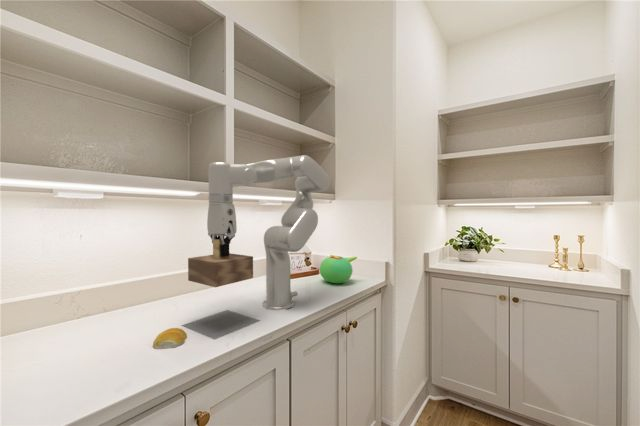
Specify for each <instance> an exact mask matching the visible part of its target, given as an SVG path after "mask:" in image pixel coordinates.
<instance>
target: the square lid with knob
mask: <svg viewBox="0 0 640 426" xmlns="http://www.w3.org/2000/svg"><path fill="white" fill-rule="evenodd" d="M220 244H221V239H213V243H212V254H208V255H201V256H194V257H189V258H187V280H188V281H189V282H192V283H197V284H201V285H205V286H209V287H214V288H219V287H222V286H226V285H230V284H235V283H239V282H242V281H246V280H251V279H253V278H254V256H252V255H245V254H236V253H230V252H229V256H224V257H221V256H220Z"/></svg>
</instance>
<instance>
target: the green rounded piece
mask: <svg viewBox="0 0 640 426" xmlns="http://www.w3.org/2000/svg"><path fill="white" fill-rule="evenodd" d="M329 255H330V256H328V257H326V258H324V259H323V260H322V261H321V263H320V264H319V273H320V275H321V277H322V278H323V279H324V280H325V281H326V282H328V283H332V284H343V283H346V282H347V281H348V280H349V279H351V277H352V275H353V266H352V264H351V262H353V261H355V260H356V259H358V256H351V257H343V256H338V255H333V254H329Z"/></svg>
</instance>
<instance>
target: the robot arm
mask: <svg viewBox="0 0 640 426" xmlns="http://www.w3.org/2000/svg"><path fill="white" fill-rule="evenodd" d="M295 178H296V179H295ZM289 179H295V182H294V183H295V184H294V187H295V195H296V196H295V199H294V201H293V202H292V203H291V205H290V206H289V207H288V208H287V209H286V210H285V212H284V213H283V215H282V216H281V221H280V222H281V225H274V226H270V227H269V228H267V229H266V231H264V235H263V244H264V245H263V246H264V251H265V257H266V258H265V259H266V260H265V262H266V263H265V264H266V267H265V268H266V273H265V274H266V276H265V278H266V280H265V281H266V283H265V284H266V285H265V287H266V292H265V293H266V299H265V300H264V301H263V302H262V303H261V304H262V307H263V308H264V309H267V310H270V311H271V310H274V311H280V310H289V309H291V308H293V307H294V306H295V301H294V300H293V298H294V297H296V296H298V294H299V293H298V292H297V291H295V290H294V291H291V258H290V254H289V253H290V252H291V253H297V252H298V251H300V250H301V249H303V248H304V246H305V245H306V243H308V242H309V240H310V238H311V236H312V235H313V233H314V232H315V230H316V229H317V226H318V225H319V216H318V213H317V212H316V210H314V209H313V208H314V201H313V197H312V193H322V192H326V191H328V189H329V188H330V186H331V179H330V176H329V174H328V173H327V172H326V171H325V170H324V169H323V168H322V167H321V166H320V164H319V163H318V162H316V161H315V160H314V159H313V158H312V157H310V156H309V155H306V154H303V155H296V156H291V157H283V158H282V157H281V158H273V159H271V158H270V159H267V160H261V161H256V162H253V163H248V164H247V163H246V164H245V163H239V164H238V163H229V162H223V161H214V162H210V163H209V165H208V209H207V221H206V223H207V228H206V229H207V235H208V237H210V239H211V243H212V244H213V239H221V244H220V256H221V257H224V256H229V253H230V244H231V243H232V242H231V241H232V239H233V238H235V237H236V233H237V228H238V227H237V214H236V208H235V204H233V203H234V202H233V201H234V199H233V196H234V195H233V194H234V193H233V191H234V189H233V188H237V187H248V186H250V185H252V184H253V185H254V184H258V183H259V184H264V183H265V184H266V183H273V182H278V181H282V180H289Z"/></svg>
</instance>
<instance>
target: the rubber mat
mask: <svg viewBox="0 0 640 426" xmlns="http://www.w3.org/2000/svg"><path fill="white" fill-rule="evenodd" d="M261 321H262V320H261V319H258V318H254V317H250V316H248V315H245V314H241V313H239V312H235V311H232V310H230V309H229V310H228V309H226V310H224V311H220V312H218V313H217V312H216V313H214V314H211V315H207V316H205V317H202V318H199V319H196V320H193V321H189V322H187V323H184V324H181V327H184V328H186V329H188V330H191V331H194V332H196V333H198V334H200V335H202V336H205V337H207V338H210V339H211V340H217V339H219V338H222V337H224V336H228V335H229V334H231V333H234V332H237V331H238V330H241V329H243V328H247V327H250V326H251V325H254V324H256V323H259V322H261Z"/></svg>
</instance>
